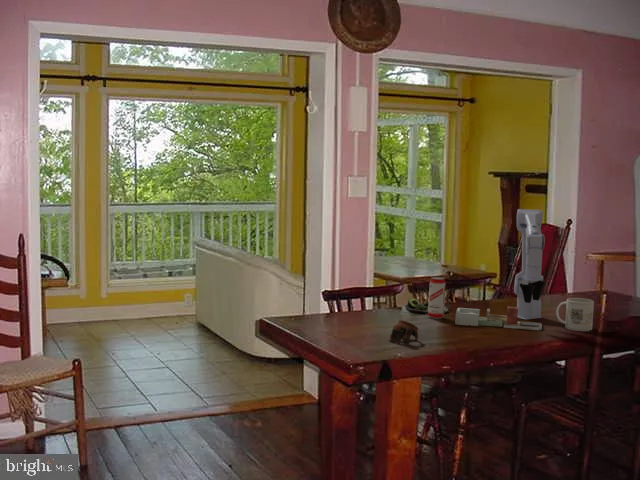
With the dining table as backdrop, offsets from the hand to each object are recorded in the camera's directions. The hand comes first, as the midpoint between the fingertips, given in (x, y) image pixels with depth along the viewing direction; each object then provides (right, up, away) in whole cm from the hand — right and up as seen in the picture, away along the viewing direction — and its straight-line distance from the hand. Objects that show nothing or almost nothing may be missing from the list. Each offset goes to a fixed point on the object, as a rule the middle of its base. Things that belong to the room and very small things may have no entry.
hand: (531, 301), depth 292 cm
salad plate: (-37, -7, +30) cm, 48 cm away
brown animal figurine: (-52, -12, -29) cm, 60 cm away
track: (-8, -9, +2) cm, 13 cm away
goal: (-23, -9, +6) cm, 25 cm away
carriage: (-10, -9, +3) cm, 14 cm away
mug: (+17, -11, +1) cm, 20 cm away
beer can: (-34, -8, +14) cm, 38 cm away
